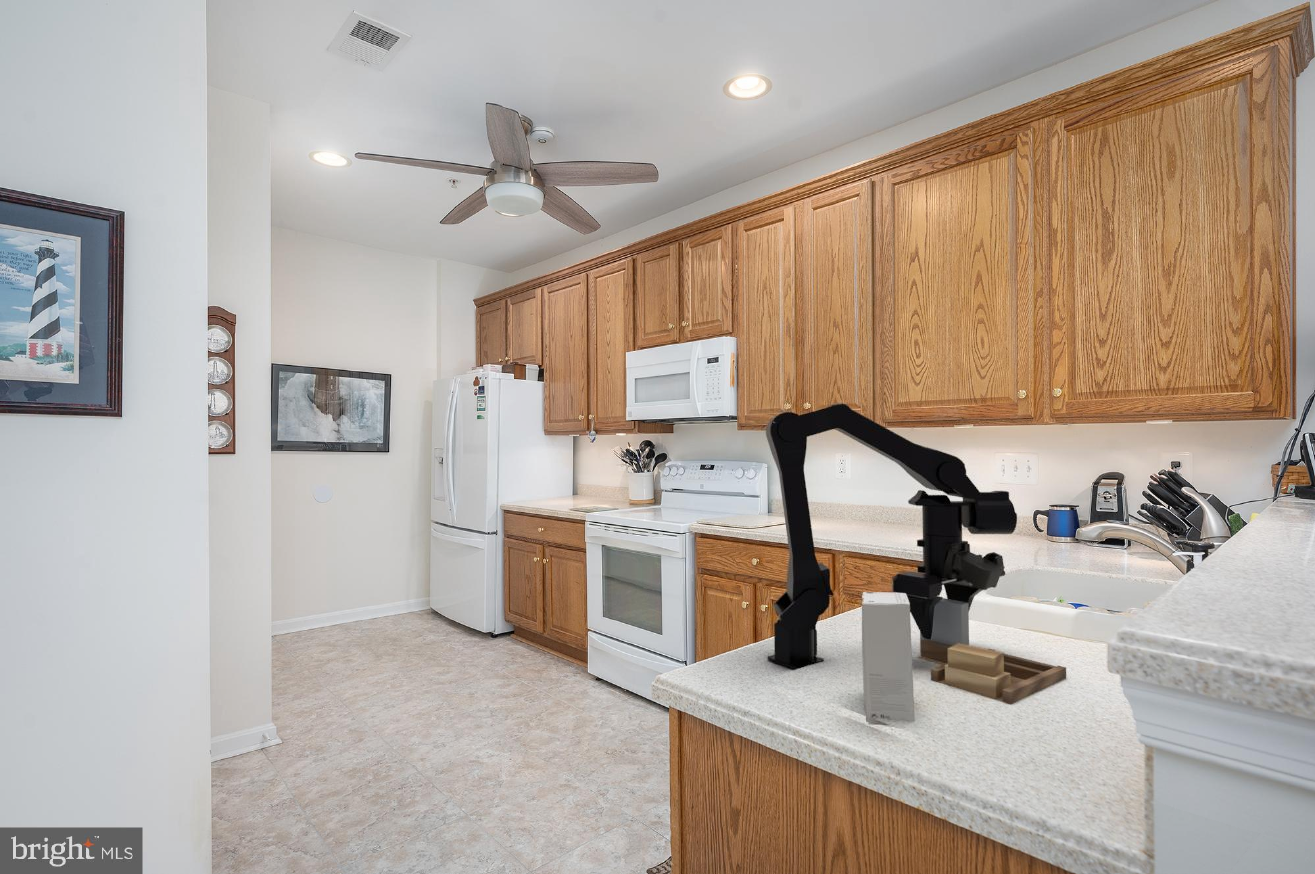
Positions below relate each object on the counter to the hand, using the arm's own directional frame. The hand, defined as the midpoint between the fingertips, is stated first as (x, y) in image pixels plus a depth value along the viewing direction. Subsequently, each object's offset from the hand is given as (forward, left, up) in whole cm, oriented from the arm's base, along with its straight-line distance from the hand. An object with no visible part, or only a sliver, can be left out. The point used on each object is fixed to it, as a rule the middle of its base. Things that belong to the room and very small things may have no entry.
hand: (943, 633), depth 102 cm
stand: (0, 0, -5) cm, 5 cm away
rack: (-3, -10, -5) cm, 11 cm away
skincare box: (-24, -7, -5) cm, 25 cm away
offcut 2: (-9, -10, -4) cm, 14 cm away
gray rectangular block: (0, 0, -4) cm, 4 cm away
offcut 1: (-9, -10, -1) cm, 13 cm away
